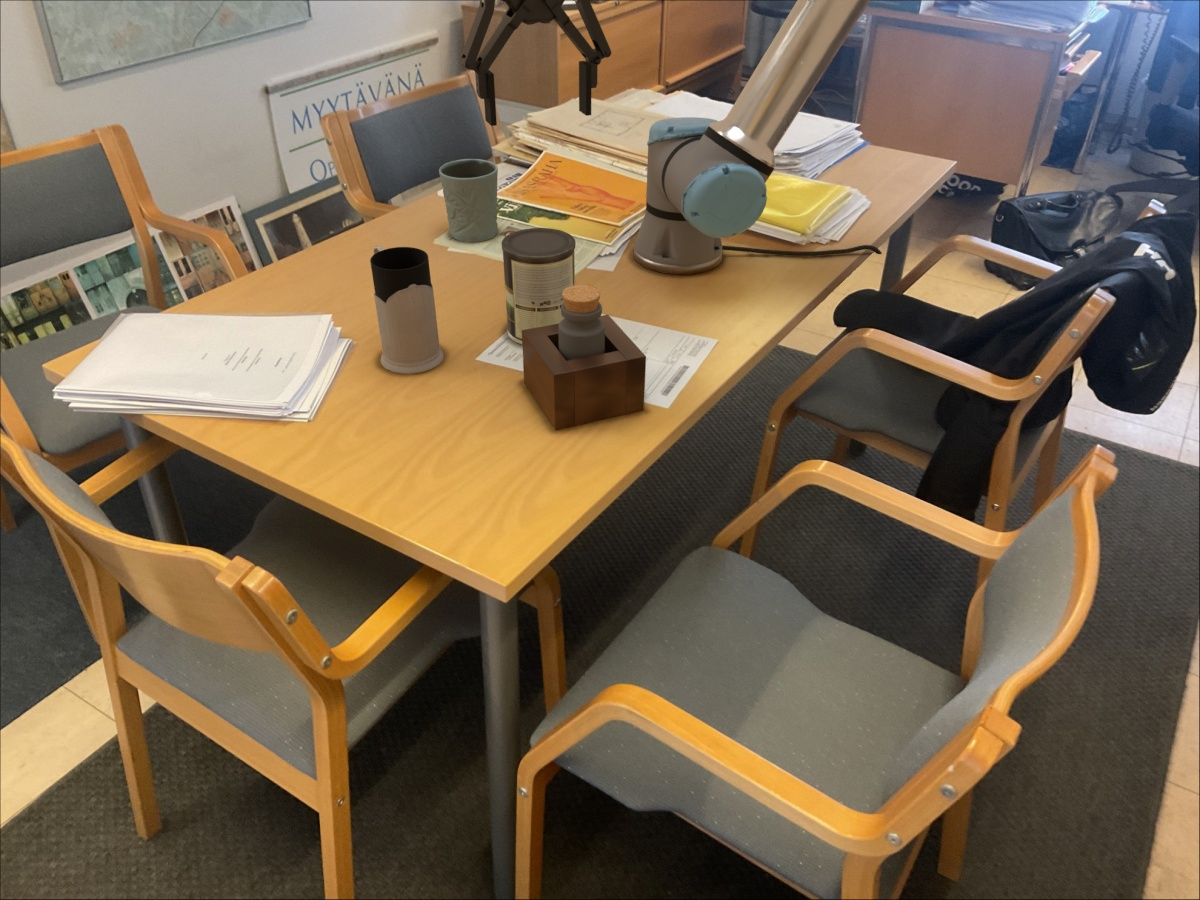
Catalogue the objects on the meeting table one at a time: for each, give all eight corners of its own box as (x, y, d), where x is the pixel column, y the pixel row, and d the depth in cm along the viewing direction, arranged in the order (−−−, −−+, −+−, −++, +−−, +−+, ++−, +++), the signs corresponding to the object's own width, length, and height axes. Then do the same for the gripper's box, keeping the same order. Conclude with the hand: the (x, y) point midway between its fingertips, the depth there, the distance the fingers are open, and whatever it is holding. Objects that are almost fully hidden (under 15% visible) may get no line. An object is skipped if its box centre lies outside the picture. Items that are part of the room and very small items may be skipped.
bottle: (569, 412, 115) (568, 306, 107) (553, 390, 120) (550, 287, 111) (611, 402, 117) (613, 298, 109) (593, 381, 122) (593, 279, 113)
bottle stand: (607, 365, 125) (607, 314, 120) (643, 410, 116) (646, 356, 111) (524, 382, 121) (521, 330, 117) (555, 430, 112) (553, 374, 108)
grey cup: (506, 224, 167) (502, 160, 160) (494, 245, 159) (490, 179, 152) (453, 221, 168) (447, 157, 161) (438, 242, 160) (432, 176, 153)
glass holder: (394, 379, 122) (379, 277, 113) (358, 337, 131) (341, 239, 123) (453, 363, 125) (443, 262, 117) (414, 322, 135) (402, 227, 126)
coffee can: (492, 330, 133) (486, 240, 125) (544, 309, 139) (541, 221, 131) (538, 355, 127) (535, 262, 119) (590, 331, 133) (590, 241, 125)
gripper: (441, -52, 104) (457, 135, 116) (638, -61, 111) (633, 115, 124) (426, -60, 109) (442, 119, 122) (614, -67, 117) (612, 102, 129)
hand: (538, 118), depth 123 cm, fingers open, 13 cm apart
